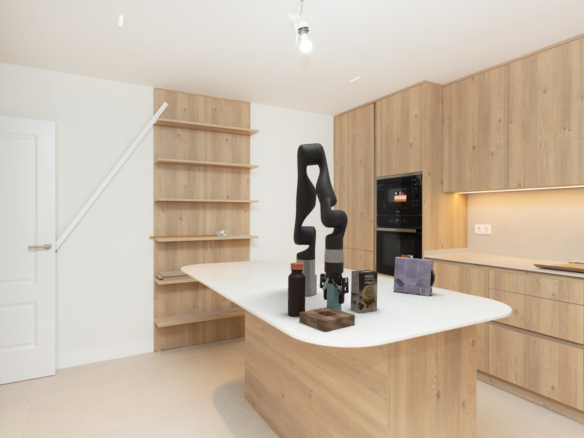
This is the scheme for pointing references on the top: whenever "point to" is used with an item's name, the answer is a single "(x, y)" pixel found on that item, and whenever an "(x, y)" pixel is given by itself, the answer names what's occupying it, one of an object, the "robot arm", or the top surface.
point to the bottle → (296, 290)
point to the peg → (333, 297)
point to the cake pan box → (413, 276)
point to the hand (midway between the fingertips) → (333, 301)
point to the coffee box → (364, 290)
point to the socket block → (326, 318)
